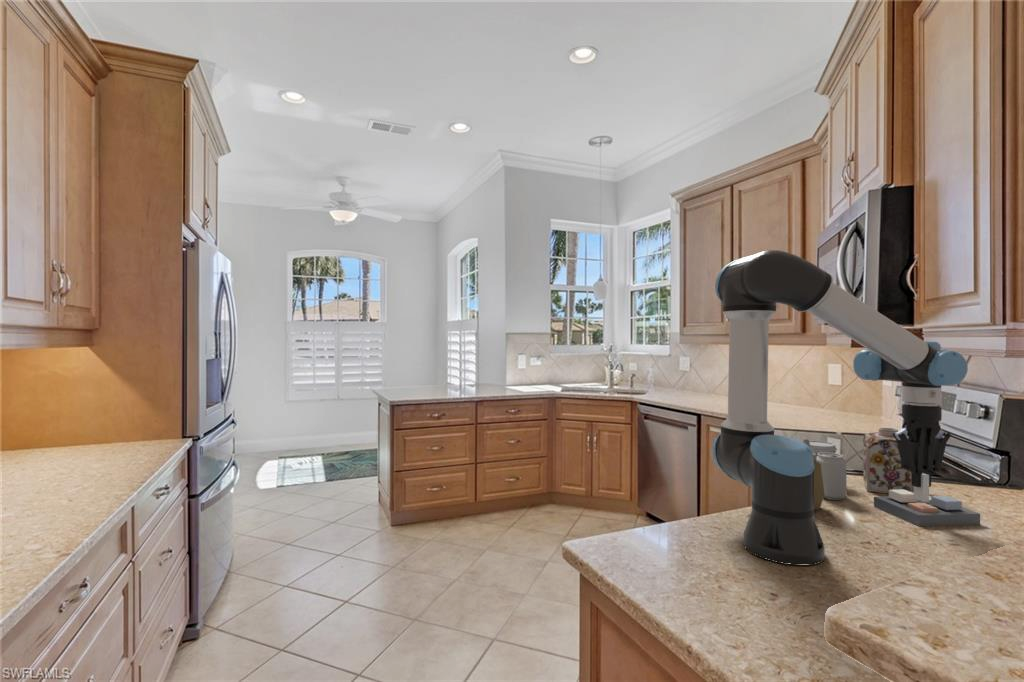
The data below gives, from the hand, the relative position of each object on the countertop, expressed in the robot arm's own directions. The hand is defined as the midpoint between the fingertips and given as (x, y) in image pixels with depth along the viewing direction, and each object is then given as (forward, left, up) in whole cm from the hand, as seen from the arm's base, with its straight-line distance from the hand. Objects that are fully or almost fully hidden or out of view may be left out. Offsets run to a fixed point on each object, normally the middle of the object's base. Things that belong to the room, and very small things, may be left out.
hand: (921, 499), depth 121 cm
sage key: (+6, +6, -5) cm, 10 cm away
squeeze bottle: (-22, +11, -5) cm, 25 cm away
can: (-10, +19, -5) cm, 22 cm away
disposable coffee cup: (-4, +33, -5) cm, 34 cm away
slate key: (+6, 0, -3) cm, 7 cm away
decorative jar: (+11, +24, -5) cm, 27 cm away
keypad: (+3, +3, -5) cm, 7 cm away
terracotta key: (0, 0, -5) cm, 5 cm away
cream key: (0, +6, -3) cm, 7 cm away
